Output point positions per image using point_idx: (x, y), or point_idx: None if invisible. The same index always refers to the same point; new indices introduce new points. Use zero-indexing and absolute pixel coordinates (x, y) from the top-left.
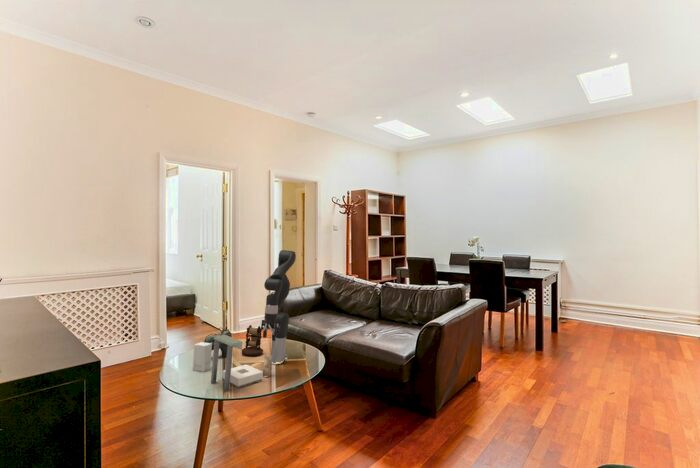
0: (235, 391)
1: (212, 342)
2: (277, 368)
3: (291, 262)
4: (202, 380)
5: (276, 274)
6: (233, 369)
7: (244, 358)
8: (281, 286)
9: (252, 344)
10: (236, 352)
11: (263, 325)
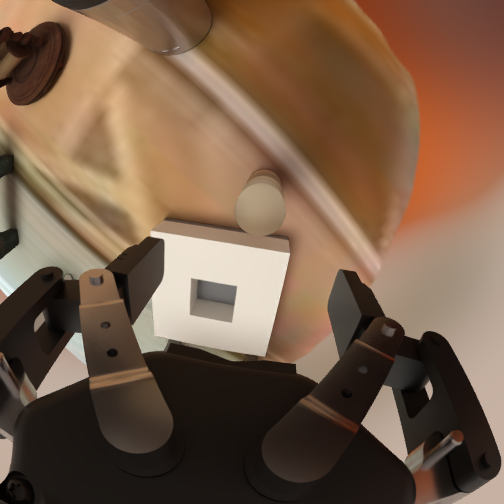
0: (278, 350)
1: None
2: (234, 72)
3: None
4: (139, 345)
5: None
6: (169, 308)
7: (49, 115)
8: None
9: (12, 65)
10: (6, 108)
11: (40, 356)
